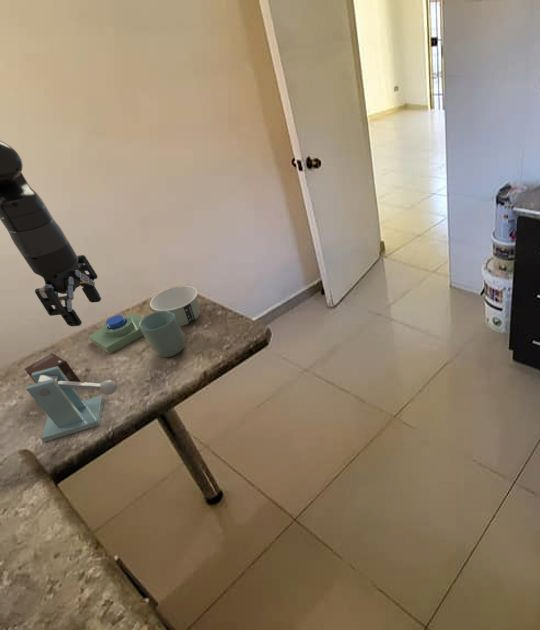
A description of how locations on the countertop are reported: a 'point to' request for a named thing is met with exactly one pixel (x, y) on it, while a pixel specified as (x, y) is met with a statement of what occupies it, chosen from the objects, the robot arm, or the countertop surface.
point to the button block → (117, 334)
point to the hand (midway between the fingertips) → (86, 312)
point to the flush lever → (84, 384)
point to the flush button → (116, 322)
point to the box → (52, 362)
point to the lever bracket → (63, 406)
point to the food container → (178, 303)
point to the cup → (163, 333)
